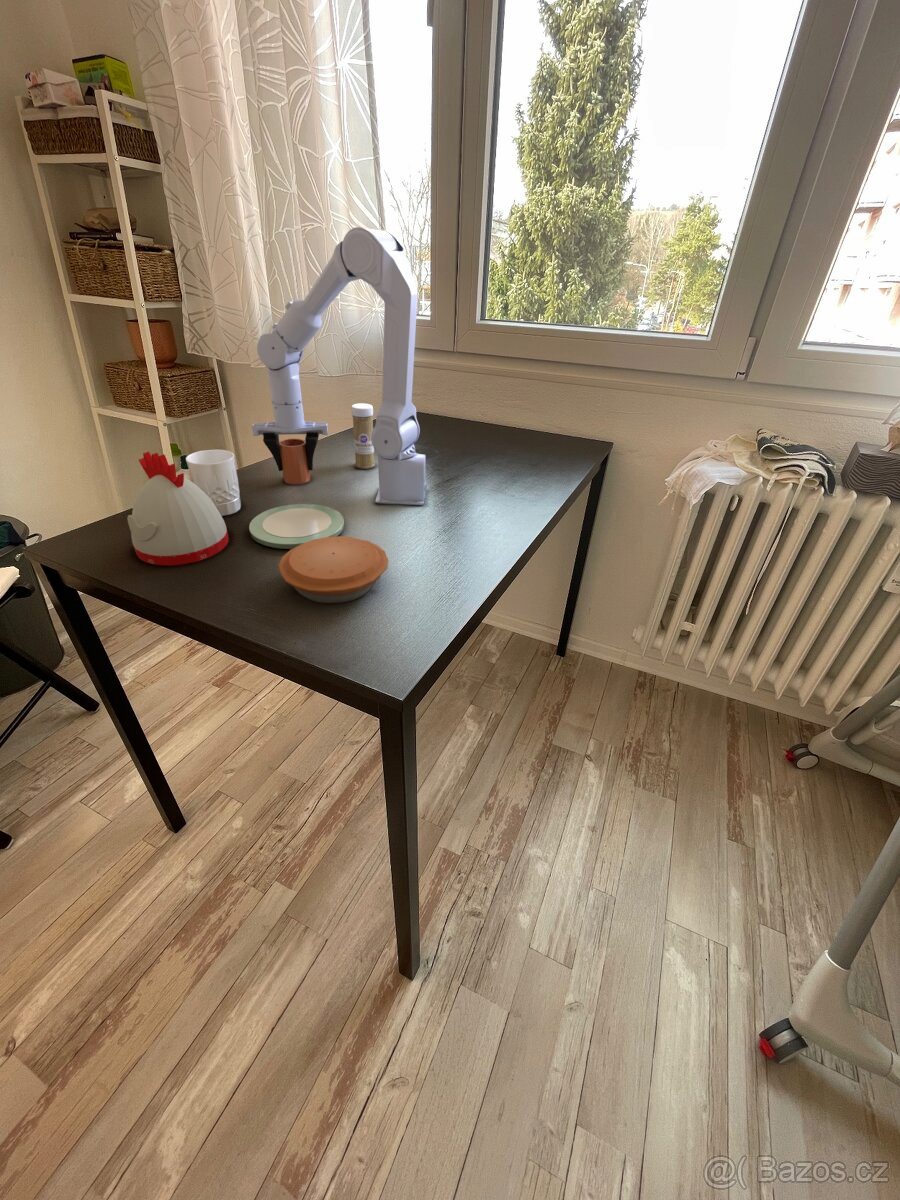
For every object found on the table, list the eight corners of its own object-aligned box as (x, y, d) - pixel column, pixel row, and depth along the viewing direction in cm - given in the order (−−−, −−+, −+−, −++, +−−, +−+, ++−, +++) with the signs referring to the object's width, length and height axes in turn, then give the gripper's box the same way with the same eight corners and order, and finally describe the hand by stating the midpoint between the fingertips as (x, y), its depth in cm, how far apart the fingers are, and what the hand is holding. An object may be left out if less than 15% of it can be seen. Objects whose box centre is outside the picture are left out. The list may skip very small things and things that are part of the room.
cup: (313, 475, 111) (308, 438, 106) (307, 485, 106) (302, 447, 102) (288, 474, 111) (282, 437, 106) (281, 484, 106) (275, 446, 102)
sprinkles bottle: (358, 470, 115) (354, 408, 107) (353, 463, 118) (348, 403, 110) (377, 468, 116) (375, 407, 109) (372, 461, 120) (369, 402, 112)
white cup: (229, 520, 92) (217, 466, 86) (190, 515, 93) (175, 461, 87) (252, 503, 98) (242, 451, 92) (215, 498, 99) (203, 447, 93)
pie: (271, 613, 69) (264, 582, 66) (294, 556, 82) (289, 528, 79) (385, 613, 70) (384, 582, 67) (390, 557, 83) (389, 529, 80)
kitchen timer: (188, 519, 91) (164, 434, 83) (246, 536, 87) (228, 449, 78) (116, 551, 81) (81, 459, 72) (178, 573, 76) (149, 477, 68)
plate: (351, 511, 96) (350, 505, 96) (334, 552, 83) (334, 545, 82) (266, 508, 96) (265, 501, 95) (236, 549, 83) (234, 541, 82)
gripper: (325, 396, 104) (331, 461, 112) (251, 396, 102) (262, 463, 109) (324, 405, 98) (331, 473, 106) (245, 405, 96) (258, 474, 104)
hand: (296, 468), depth 107 cm, fingers closed on cup, 5 cm apart
